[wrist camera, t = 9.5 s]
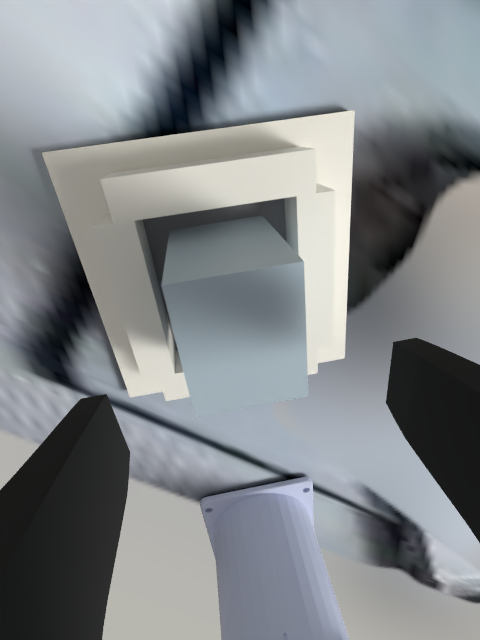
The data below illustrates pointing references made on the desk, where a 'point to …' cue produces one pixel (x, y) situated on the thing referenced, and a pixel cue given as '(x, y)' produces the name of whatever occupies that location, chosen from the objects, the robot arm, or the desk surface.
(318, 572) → the robot arm
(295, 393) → the plug block
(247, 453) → the desk surface
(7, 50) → the desk surface
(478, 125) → the desk surface
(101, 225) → the socket plate
